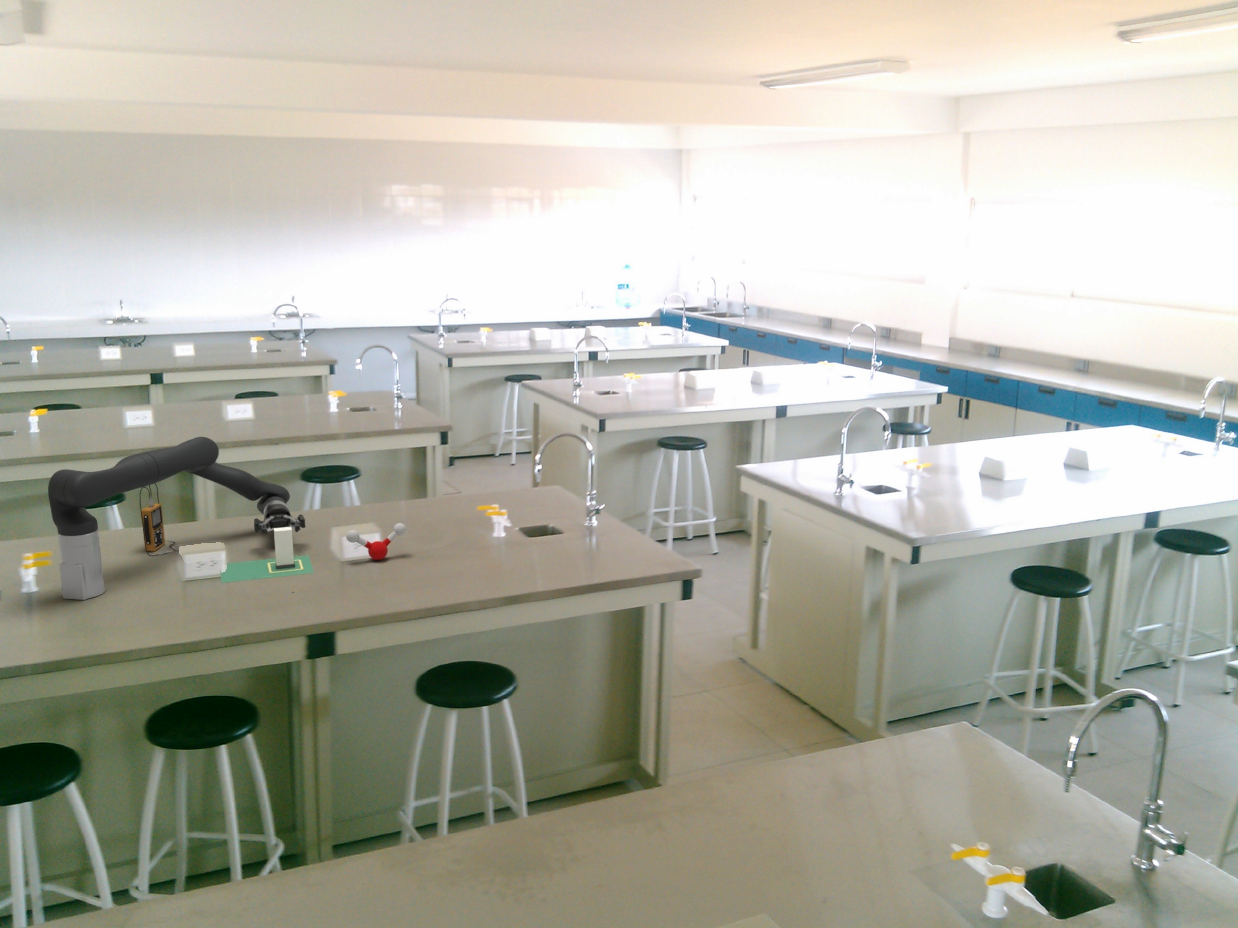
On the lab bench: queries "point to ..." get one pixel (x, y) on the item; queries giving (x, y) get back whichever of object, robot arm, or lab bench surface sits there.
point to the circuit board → (264, 569)
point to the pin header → (285, 566)
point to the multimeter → (153, 525)
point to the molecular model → (377, 548)
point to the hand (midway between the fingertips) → (281, 530)
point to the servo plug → (283, 546)
